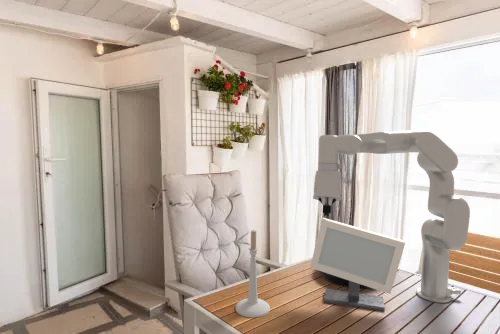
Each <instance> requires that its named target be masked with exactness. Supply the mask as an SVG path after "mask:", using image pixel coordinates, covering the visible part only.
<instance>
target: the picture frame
mask: <svg viewBox="0 0 500 334" xmlns="http://www.w3.org/2000/svg"><path fill="white" fill-rule="evenodd" d="M405 245H406V242H405V240H404V239H400V238H398V237H397V238H396V237H393V236H390V235H385V234H383V233H379V232H375V231H371V230H367V229H365V228H362V227H358V226H354V225H351V224H347V223H344V222H340V221H336V220H334V219H331V218H330V219H329V218H326V217H322V219H321V223H320V226H319V231H318V234H317V239H316V241H315V246H314V251H313V254H312V257H311V258H312V259H311V262H310V267H309V268H310V269H314V270H316V271H319V272H320V271H322V272H325V273H328V274H331V275H334V276H337V277H340V278H343V279H346V280H349V281H352V282H355V283H358V284H361V285H364V286H367V287H370V288H369V289H374V290H377V291H381V292H382V293H386V294H390V295H391V294H392V290H393V285H394V283H395V279H396V275H397V273H398V269H399V265H400V263H401V259H402V256H403V252H404V248H405Z"/></svg>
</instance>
